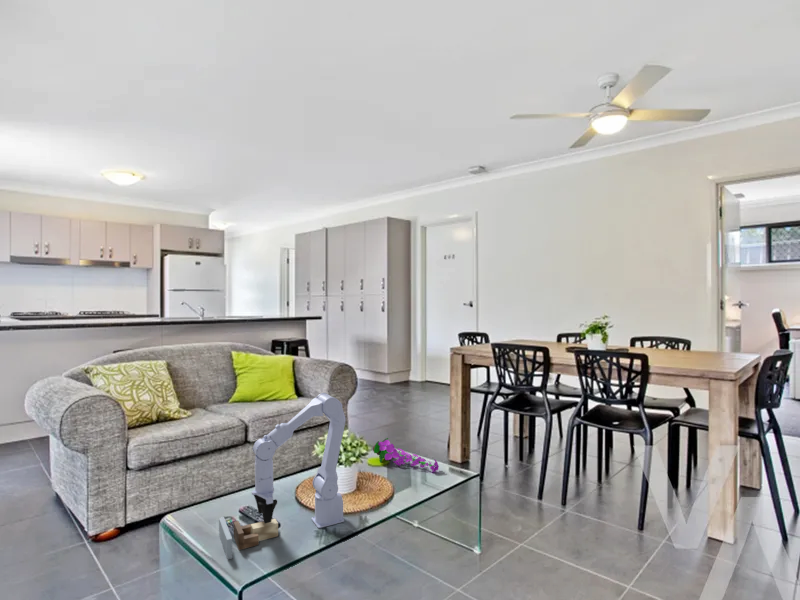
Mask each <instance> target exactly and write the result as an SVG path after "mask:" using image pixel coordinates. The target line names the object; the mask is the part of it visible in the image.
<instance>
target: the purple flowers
mask: <svg viewBox="0 0 800 600" xmlns="http://www.w3.org/2000/svg"><path fill="white" fill-rule="evenodd" d="M372 452H373V453H374V454H377V456H379V463H382V462H383V460H384V459H385V461H389V460H392V458H393V459H396V460H393V463H394V464H396V465H397V466H401V465H405V464H406V463H409V465H410V466H411V467H412V466H413V467H414V466H417V465H418V466H419V467H420V468H421V469H423V468H426V469H427V468H429V469H430V470H432V473H436V472H437V471H438V470H439V467H440V465H439V463H438V461H437V460H436V459H434V463H433V464H432V461H427V460H426V459H425V458H422V457H421V456H419V455H418V454H415V453H412V455H411V454H410V453H409V452H406V451H405V450H403V449H401V448H396V447H395V445H394V444H393V443H391V442H390V440H389V438H388V437H387V438H385V439H384V440H382V441H377V442H376V443H375V444H374V445H373V446H372ZM400 452H401V453H400ZM410 462H411V463H410Z"/></svg>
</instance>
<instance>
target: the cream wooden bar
mask: <svg viewBox="0 0 800 600" xmlns="http://www.w3.org/2000/svg"><path fill="white" fill-rule="evenodd" d="M250 524H251V534H254V533H257V534H258V537H259V542H261V541H264V540H265V541H266V540H268V539H274V538H276V537H279V522H278V521H277V519H276V518H272V521H271V522H269V523H264V520H263V521H258V522H255V523H250Z"/></svg>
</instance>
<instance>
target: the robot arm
mask: <svg viewBox="0 0 800 600" xmlns="http://www.w3.org/2000/svg"><path fill="white" fill-rule="evenodd" d="M343 407H344V406H343V403H342V402H341V401H340V400H339V399H338V398H336V397H334V396H331V395H330V394H328V393H326V392H321V393H319V394H318V395H316V397H314V398H312V399H311V401H310V402H309V403H308V404H307V405H306V406H304V407H303V408H302V409H301V410H300V411H299V412H298V413H297V414H296V415H294V416H293V417H292V418H291V419H290V420H288V422H281V423H280V424H279V423H278V424H276V425H275V428H274V429H272V430H271V431H270V432H269V433H268V434H265V435H263V437H262V438H258V439H257V440H256V441H255V442H254V444H253V447H252V452H253V453H254V454H255V455H254V482H255V483H254V485H255V487H254V490H251V495H252V496H253V497H254V499H255V503H256V507H257V511H258V514H259V515H260V514H262V519H263V521H264V523H269V522H271V521H272V519H273V515H274V511H275V508H276V506H277V505H278V500H277V499H276V498H275V499H274V492H275V487H274V462H273V458H274V455H275V453H276V450H278V448H280V447H281V446H283V445H284V444H285V443H286V442H287V441H289V440H290V439H291V438H292V437H293V434H294V431H295V430H297V429H298V428H299V427H301V426H302V425H303V424H305V423H306V422H308V421H309V420H310V419H312V418H313V417H324V415H325V417H326V418H327V419H328V421H329V426H328V431H327V435H326V441H325V445H324V451H323V454H322V455H323V456H322V459H321V464H320V465H321V466H320V467H319V468H317V471H316V474H315V476H314V477H313V479H312V487H313V489H315V493H314V516H312V517H311V518H310V520H311V521H312V522H313V523H314V525H315V526H316V527H317V528H318V529H322V528H326V527H329V526H332V525H333V526H334V525H336V524H340V523H344V522H345V519H344V500H343V496H342V494H341V493H340V492H339V485H338V478H339V476H338V472H337V466H338V462H339V456H340V451H341V448H342V447H341V446H342V440H343V435H344V430H345V425H346V420H347V419H346V415H345V411H344V409H343Z"/></svg>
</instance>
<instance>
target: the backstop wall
mask: <svg viewBox="0 0 800 600" xmlns="http://www.w3.org/2000/svg"><path fill="white" fill-rule="evenodd" d="M218 537H219V540H220V543H221V546H222V548H223V551H224V554H225V556H226V557H225V558H226V560H230V559H231V560H232V559H233V537H232V533H231V532H230V529H229V527H228V525H227V522H226V519H225V517H224V516H222V517H218Z"/></svg>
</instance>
